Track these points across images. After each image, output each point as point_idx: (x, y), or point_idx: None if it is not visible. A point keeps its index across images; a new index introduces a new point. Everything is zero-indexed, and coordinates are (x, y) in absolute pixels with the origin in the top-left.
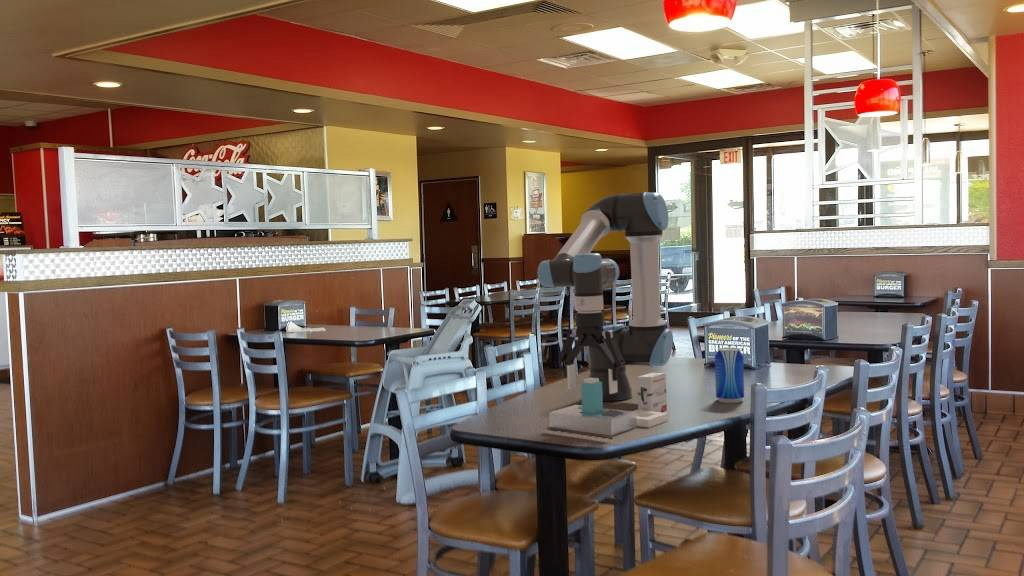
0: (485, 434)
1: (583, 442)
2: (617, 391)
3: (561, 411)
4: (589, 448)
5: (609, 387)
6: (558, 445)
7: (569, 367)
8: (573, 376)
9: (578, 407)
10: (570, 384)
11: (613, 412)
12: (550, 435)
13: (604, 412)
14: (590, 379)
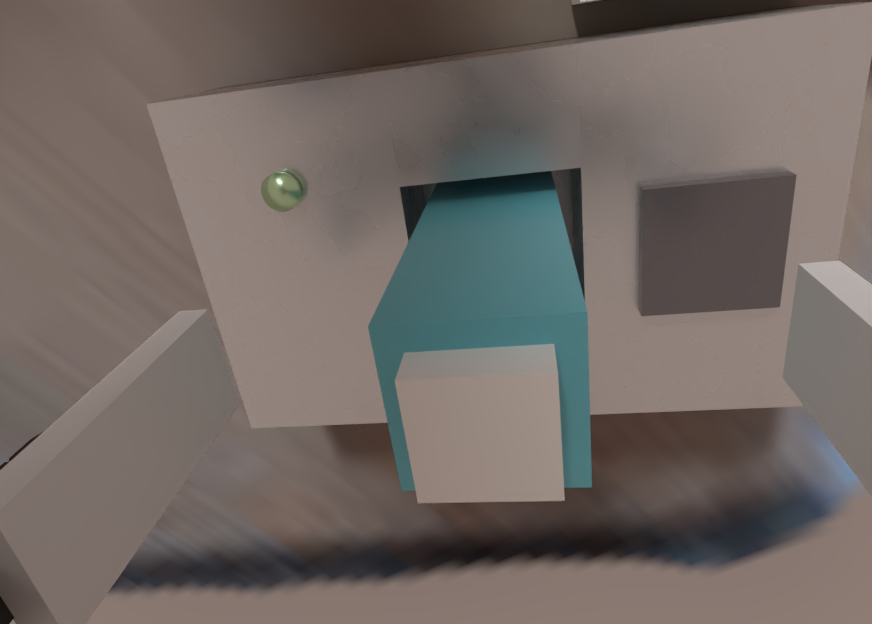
0: (149, 557)
1: (644, 457)
2: (843, 264)
3: (293, 372)
4: (750, 525)
5: (822, 422)
6: (573, 549)
7: (90, 608)
8: (146, 426)
9: (283, 210)
10: (214, 426)
11: (720, 240)
12: (386, 435)
13: (647, 284)
14: (518, 493)
